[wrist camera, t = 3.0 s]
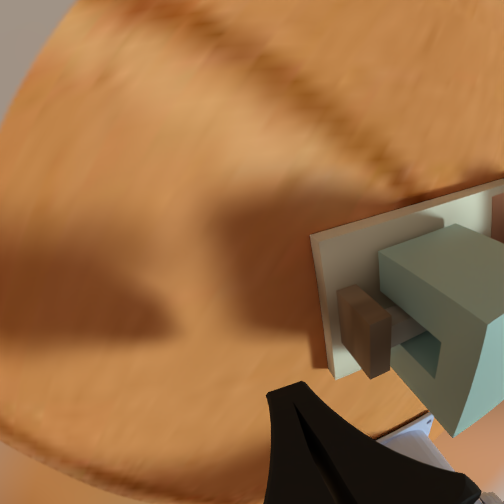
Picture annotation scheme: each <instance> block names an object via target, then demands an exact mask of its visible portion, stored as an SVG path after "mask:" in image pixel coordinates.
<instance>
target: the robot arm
mask: <svg viewBox="0 0 504 504" xmlns="http://www.w3.org/2000/svg"><path fill="white" fill-rule="evenodd" d="M266 398H267V401H268V405H269V411H270V421H271V454H270V467H269V476H268V482H267V489H266V494H265V499H264V503H263V504H482V503H483V504H504V501H503V502H502V501H501V499H500V498H499V497H498V496H497V495H495V494H494V493H493V492H491V493H490V492H489V493H486V492H483V493H482V494H481V490H480V489H479V487H478V486H477V485H476V484H475V483H474V482H473V481H472V480H471V479H470V478H469V477H467V476H466V475H465V474H463V473H458V472H455V471H454V470H453V468H452V467H451V466H450V464H449V463H448V462H447V460H446V459H445V458H444V457H443V456H442V454H441V453H440V452H439V450H438V449H437V448H436V446H435V445H434V444H433V443H432V441H431V440H430V439H429V438H428V435H429V432H430V428H431V425H432V422H433V418H434V416H433V415H432V413H431V412H428V413H427V414H425V415H423V416H421V417H420V418H418V419H416V420H414V421H413V422H411V423H409V424H407V425H405V426H403V427H401V428H400V429H398V430H396V431H394V432H392V433H390V434H388V435H386V436H384V437H382V438H380V439H378V440H376V441H375V440H373V439H372V438H370V437H369V436H367V435H365V434H364V433H362V432H361V431H359V430H358V429H357V428H355V427H354V426H352V425H351V424H350V423H348V422H347V421H346V420H344V419H343V418H342V417H341V416H339V415H338V414H337V413H336V412H334V411H333V410H332V409H331V408H330V407H329V406H327V405H326V404H325V403H324V402H323V401H322V400H321V399H320V398H319V397H318V396H317V395H316V394H315V393H314V392H313V391H312V390H311V389H310V387H309V386H308V385H307V384H306V383H305V382H303V381H300V382H297V383H294V384H291V385H288V386H286V387H283V388H280V389H277V390H274V391H270V392H268V393H267V394H266ZM479 498H480V500H481V501H482V503H481V502H480V500H479Z"/></svg>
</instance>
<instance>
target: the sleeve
mask: <svg viewBox="0 0 504 504" xmlns="http://www.w3.org/2000/svg"><path fill="white" fill-rule="evenodd" d="M378 258H379V276H380V291H381V292H382V293H383V294H385V295H386V296H387V297H388V298H390V299H391V300H392V301H393V302H394V303H396V304H397V305H398V306H399V307H400V308H402V309H403V310H404V311H405V312H406V313H408V314H409V315H410V316H411V317H412V318H413V319H415V320H416V321H417V322H418V323H419V324H421V325H422V326H423V327H424V328H425V329H426V330H427V331H425V332H423V333H421V334H419V335H417V336H415V337H413V338H411V339H409V340H407V341H405V342H403V343H401V344H399V345H397V346H394V347H392V348H391V357H390V366H391V367H392V369H393V370H394V371H395V372H396V373H397V374H398V375H399V377H400V378H401V379H402V380H403V381H404V382H405V383H406V385H407V386H408V387H409V388H410V389H411V390H412V391H413V393H414V394H415V395H416V396H417V397H418V398H419V400H420V401H421V402H422V403H423V404H424V405H425V406H426V408H427V409H428V410H429V411H430V412H431V413H432V415H433V416H434V417H435V418H436V419H437V421H438V422H439V423H440V424H441V425H442V426H443V428H444V429H445V430H446V431H447V432H448V433H449V435H450V436H451V437H452V438H454V437H455V436H457V435H458V434H459V433H461V432H462V431H463V430H465V429H466V428H468V427H469V426H471V425H472V424H473V423H475V422H476V421H478V420H479V419H480V418H481V417H483V416H484V415H485V414H487V413H488V412H489V411H491V410H492V409H493V408H494V407H495V406H497V405H498V404H499V403H500V402H501V401H503V400H504V244H503V243H501V242H499V241H497V240H494V239H492V238H490V237H487V236H485V235H483V234H481V233H478V232H476V231H473V230H471V229H469V228H466V227H464V226H461V225H459V224H456V223H455V224H452V225H450V226H447V227H444V228H442V229H439V230H436V231H433V232H431V233H428V234H425V235H422V236H420V237H417V238H414V239H411V240H408V241H406V242H403V243H400V244H397V245H394V246H391V247H389V248H386V249H383V250H380V251H378Z"/></svg>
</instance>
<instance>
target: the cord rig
mask: <svg viewBox="0 0 504 504" xmlns="http://www.w3.org/2000/svg"><path fill="white" fill-rule="evenodd" d="M455 223H456V224H459V225H461V226H464V227H466V228H469V229H471V230H473V231H476V232H478V233H481V234H483V235H485V236H487V237H490V238H492V239H494V240H497V241H499V242H501V243H503V244H504V178H503V179H499V180H496V181H492V182H489V183H486V184H482V185H479V186H475V187H472V188H468V189H465V190H462V191H458V192H455V193H451V194H448V195H445V196H441V197H438V198H434V199H431V200H427V201H424V202H421V203H417V204H414V205H410V206H407V207H404V208H400V209H397V210H393V211H390V212H387V213H383V214H380V215H376V216H373V217H369V218H366V219H363V220H359V221H356V222H352V223H349V224H346V225H342V226H339V227H335V228H332V229H328V230H325V231H322V232H318V233H315V234H311V235H310V241H311V247H312V253H313V259H314V265H315V272H316V278H317V285H318V292H319V299H320V306H321V313H322V321H323V328H324V336H325V344H326V353H327V361H328V369H329V371H330V372H331V374H332V375H333V377H334V379H335V380H337V379H340V378H342V377H344V376H347V375H349V374H352V373H354V372H356V371H359V370H361V369H362V370H363V371H364V372H365V373H366V375H367V376H368V377H369V379H372V378H375V377H377V376H379V375H381V374H383V373H385V372H387V371H390V357H391V348H392V347H394V346H397V345H399V344H401V343H403V342H405V341H407V340H409V339H411V338H413V337H415V336H417V335H419V334H421V333H423V332H425V331H427V330H426V329H425V328H424V327H423V326H422V325H421V324H419V323H418V322H417V321H416V320H415V319H413V318H412V317H411V316H410V315H409V314H408V313H406V312H405V311H404V310H403V309H402V308H400V307H399V306H398V305H397V304H396V303H394V302H393V301H392V300H391V299H390V298H388V297H387V296H386V295H385V294H383V293H382V292H381V291H380V276H379V258H378V251H380V250H383V249H386V248H389V247H391V246H394V245H397V244H400V243H403V242H406V241H408V240H411V239H414V238H417V237H420V236H422V235H425V234H428V233H431V232H433V231H436V230H439V229H442V228H444V227H447V226H450V225H452V224H455Z"/></svg>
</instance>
